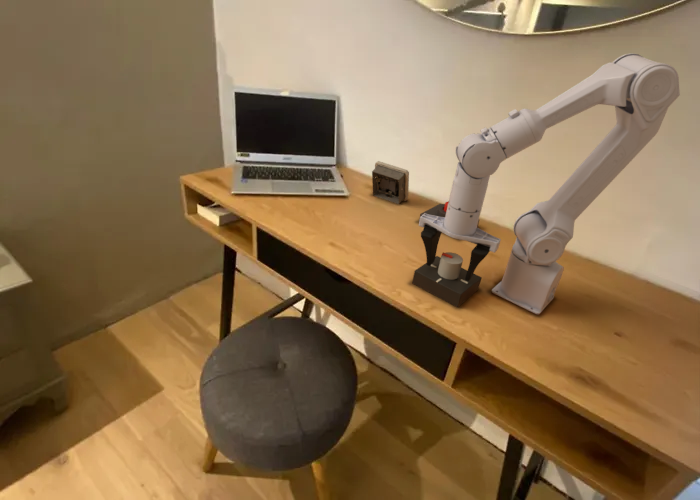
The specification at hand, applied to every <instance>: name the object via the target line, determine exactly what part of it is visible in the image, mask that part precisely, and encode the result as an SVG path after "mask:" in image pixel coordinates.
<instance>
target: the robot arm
mask: <svg viewBox="0 0 700 500" xmlns="http://www.w3.org/2000/svg"><path fill="white" fill-rule="evenodd" d="M680 92H681V90H680V78H679V74H678V71H677V69H676V68H675V67H674V66H672V65H671V64H668V63H666V62H659V61H655V60H652V59H650V58H646V57H644V56H643V55H640V54H639V53H634V52H633V53H632V52H630V53H625V54H622V55H620V56H618V57H617V58H616V59H614V60H613V61H610V62H606V63H605V64H603V65H601V66H600V67H599V68H598V69H597V70H596V71H595V72H593V73H592V74H591V75H590V76H587V77H586V78H584V79H583V80H581V81H580V82H578V83H576V84H574V85H573V86H572V87H570V88H569V89H567V90H565V91H564V92H562V93H560V94H559V95H557V96H556V97H554V98H553V99H551V100H549V101H547V102H546V103H545V104H543V105H541V106H540V107H538V108H536V109H530V108H525V107H524V108H521V109H520V110H518V109H516V108H514V109H512V110H510V111H509V112H508V113H507V114H508V117H506V118H504V119H502V120H500V121H498V122H497V123H494V124H493V125H491V126H490V127H488V128H487V127H486V126H485V127H483V128H481V129H480V132H477V133H470V134H468V135H466V136H464V137H463V138H462V139H461V140H460V143H458V145H456V146H455V155H456V156H455V157H456V159H457V160H458V162H457V163H456V164H457V165H456V169H455V173H454V176H453V179H452V184H451V189H450V194H449V198H448V201H449V202H448V201H447V202H448V207H447V211H446V216H445V217H439V216H433V215H429V214H426V213H424V214H423V215H422V216H421V217H420V216H419V219H420V221H418V227H421V228H423V229H422V230H421V232H420V238H421V240H422V242H423V245H424V249H425V254H426V255H425V256H426V257H425V258H426V263H427V265H428V266H430V265H431V264H432V263H433V262H434V260H435V257H436V256H437V251H438V245H439V241H440V238H441V237H442V236H441V235H442V234H444V235H446V236H447V237H450V238H452V239H456V240H458V239H459V240H460V241H465V242H469V243H471V244H474V245H475V246H474V247H473V248H472V250H471V251H470V259H469V265H468V268H467V274H466V277H465V280H467V281H469V280H470V279H471V277H472V275H473V273H474V274H475V271H476V269H477V267H478V266H479V265H480V263H481V262H482V261H483V260H484V259H485V258H486V257H487V256H488V254H489V253H490V252H492V253H493V254H495V253H496V252H497V251H498V250H499V247H500V244H501V241H502V239H501V238H499V237H497V236H494V235H492V234H490V233H489V232H487V231H485V230H483V229H481V228H480V227H478V228H477V225H478V226H479V224H478V221H479V222H480V217H481V213H482V208H483V205H484V202H485V199H486V193H487V191H488V187H489V181H490V177H491V176H492V175H494V174H496V172H497V170H498V169H499V167H500V165H501V163H503V162H504V161H506V160H507V159H509V158H511V157H513V156H515V155H516V154H519V153H520V152H522V151H523V150H526V149H528V148H529V147H532V146H533V145H535V144H537V143H539V142H541V141H542V139H543V136H544V134H545V132H546V130H547V129H549V128H552V127H554V126H557V124H560V123H562V122H564V121H566V120H568V119H570V118H572V117H574V116H576V115H578V114H581V113H583V112H585V111H587V110H589V109H591V108H593V107H595V106H599V105H602V106H614V109H615V120H616V124H615V125H614V126H613V127H612V129H611V130H610V131H609V132H608V133H607V134H606V135H605V136H604V138H603V139H601V141H600V142H599V143H598V144H597V145H596V147H594V149H593V150H592V151H591V152H590V153H589V154H588V156H587V157H586V158H585V159H584V160H583V161H582V163H581V164H580V165H579V166H578V167H577V168H576V169H575V170H574V172H572V174H571V175H570V176H569V177H568V178H567V179H566V181H564V182H563V184H561V186H560V187H559V188H558V189H557V190H556V191H555V193H554V194H553V195H551V197H550V199H548V200H544V201H540V202H536V203H535V204H534V206H533V207H532V208H530V209H529V210H528V211H525V212H523V213H522V214H520V215H519V216H518V217H517V218H516V220H514V223H513V232H514V236H516V238H515V241H514V243H513V244H512V247H511V251H510V254H509V257H508V260H507V263H506V267H505V270H504V274H503V277H502V279H501V281H500V282H498V283H497V284H496V285H495V286H494V287H492V288H491V290H490V292H491V293H492V294H494V295H496V296H498V297H499V298H502V299H503V300H506V301H508V302H510V303H512V304H514V305H517V306H519V307H521V308H523V309H524V310H526V311H529V312H531V313H533V314H535V315H540V314H541V313H542V312H543V311H544V309H545V308H547V307H548V305H549V304H550V303H551V302H552V301H553V300H554V298H555V294H556V291H557V289H558V287H559V283H560V281H561V279H562V276H563V274H564V270H565V268H564V266H563V265H561V264H560V263H558V260H559V259H560V258H562V256H563V255H564V253H565V250H566V246H567V245H568V244H569V242H570V241H571V240H572V239H573V237H574V232H575V231H574V230H575V222H576V220H577V219H578V218H579V217H580V216H581V215H582V214H583V213H584V211H585V210H587V209H588V207H589V206H590V205H591V204H592V203H593V202H594V201H595V200H596V199H597V198H598V197H599V196H600V195H601V194H602V193H603V191H604V190H605V189H606V188H607V187H608V186H609V185H610V184H611V183H612V182H613V180H615V179H616V178H617V176H619V175H620V173H622V171H624V169H625V168H627V166H628V165H629V164H630V163H631V162H632V161H633V159H635V157H637V156H638V154H639V153H640V152H641V151H642V150H643V149H644V148H645V147H646V146H647V145H648V144H649V143H650V142H651V141H652V140H653V139H654V137H655V136H656V135H657V134H658V132H659V130H660V128H661V126H662V124H663V121H664V119H665V117H666V114H667V111H668V109H669V107H671V106H672V104H673V103H674V102H675V101H676V100H677V99H678V98H679V97H680V96H681V93H680Z"/></svg>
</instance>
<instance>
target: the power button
mask: <svg viewBox="0 0 700 500" xmlns="http://www.w3.org/2000/svg"><path fill="white" fill-rule="evenodd" d="M448 202H449V200H448V201H446V202H445V203H444V204H445V206H444V211H445V212H446V211H447V207H448Z"/></svg>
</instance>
